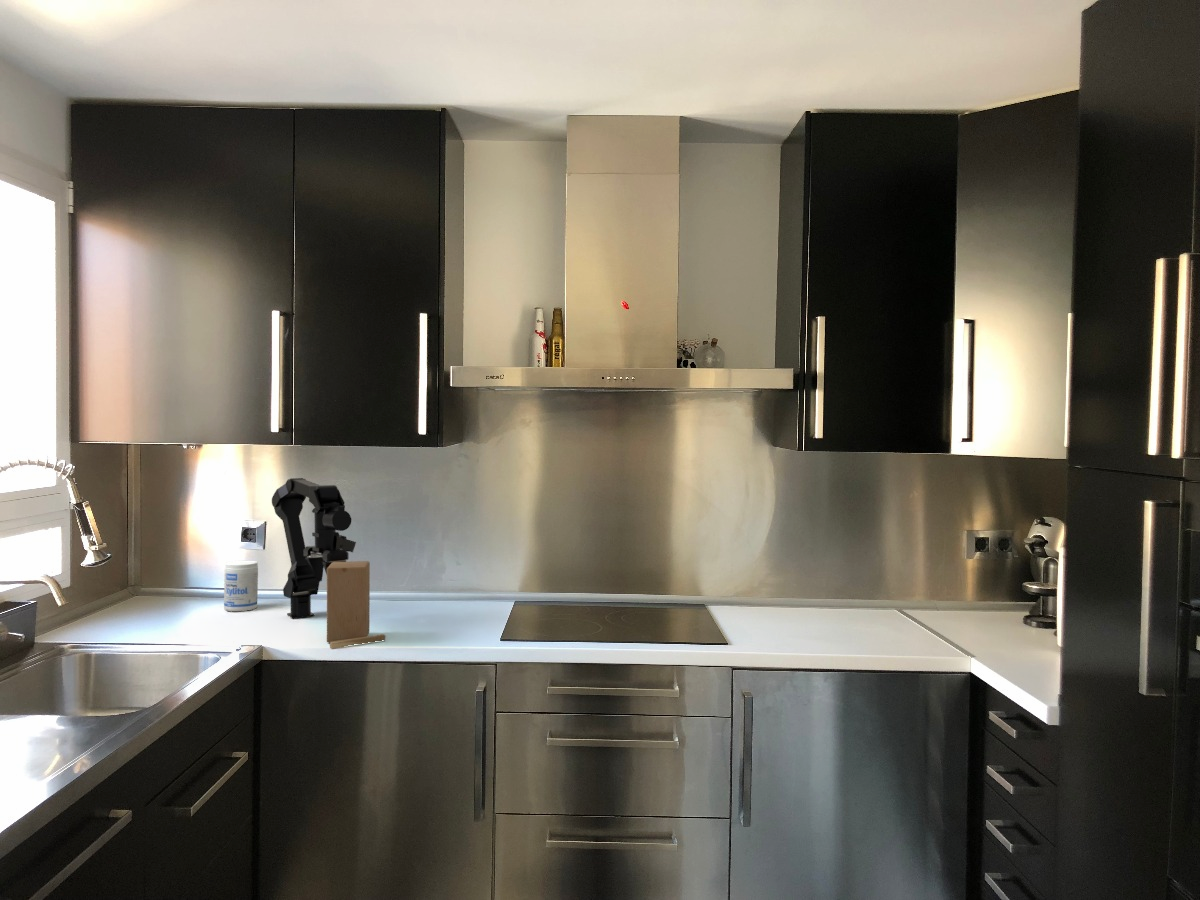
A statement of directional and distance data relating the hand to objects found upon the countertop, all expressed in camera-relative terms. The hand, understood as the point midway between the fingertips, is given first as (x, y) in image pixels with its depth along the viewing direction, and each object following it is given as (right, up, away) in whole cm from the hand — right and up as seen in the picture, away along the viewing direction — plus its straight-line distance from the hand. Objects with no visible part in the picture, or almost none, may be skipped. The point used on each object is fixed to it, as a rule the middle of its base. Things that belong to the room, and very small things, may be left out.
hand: (325, 583), depth 223 cm
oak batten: (+15, -13, -20) cm, 28 cm away
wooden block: (+11, -13, -14) cm, 22 cm away
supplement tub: (-34, -12, +21) cm, 41 cm away
